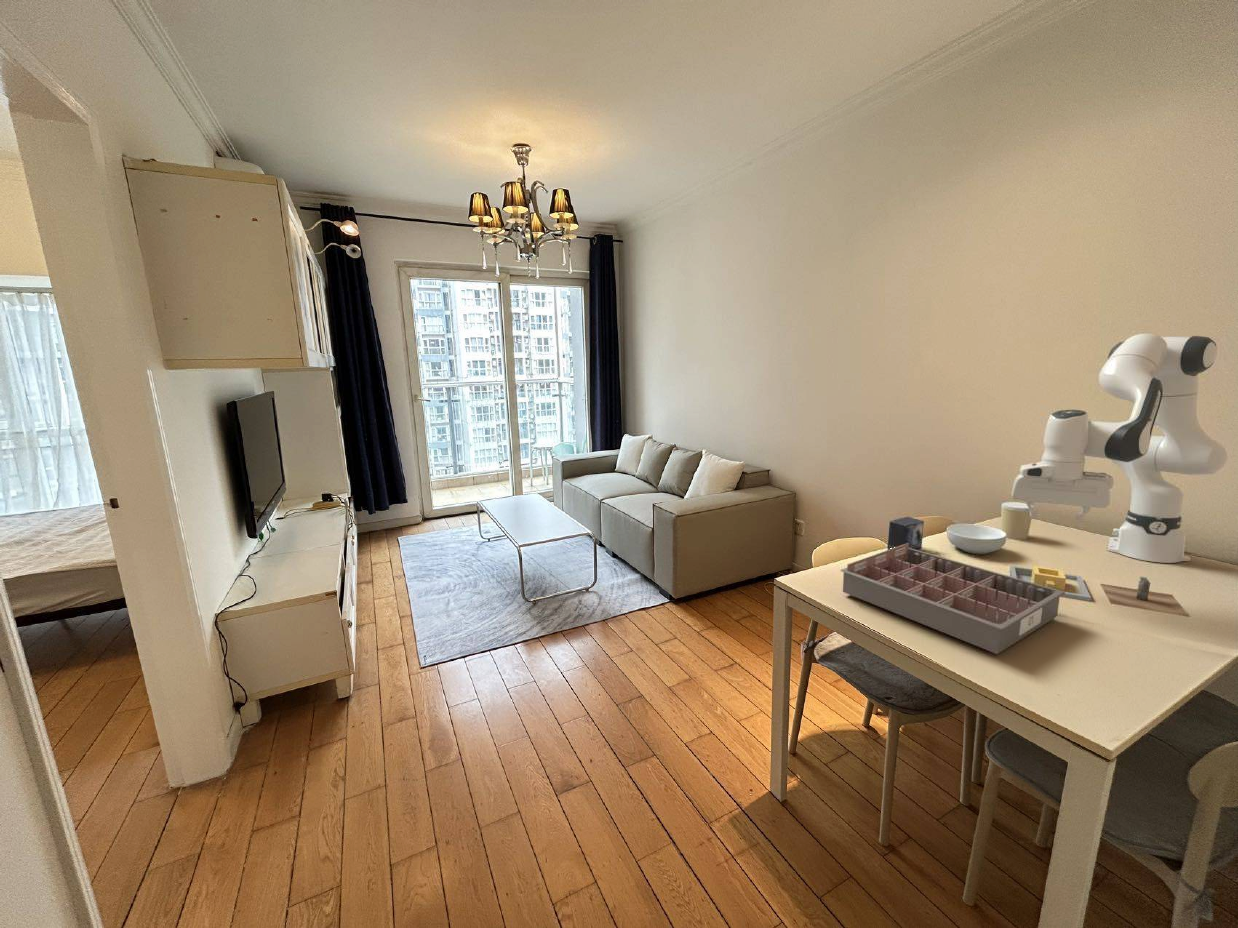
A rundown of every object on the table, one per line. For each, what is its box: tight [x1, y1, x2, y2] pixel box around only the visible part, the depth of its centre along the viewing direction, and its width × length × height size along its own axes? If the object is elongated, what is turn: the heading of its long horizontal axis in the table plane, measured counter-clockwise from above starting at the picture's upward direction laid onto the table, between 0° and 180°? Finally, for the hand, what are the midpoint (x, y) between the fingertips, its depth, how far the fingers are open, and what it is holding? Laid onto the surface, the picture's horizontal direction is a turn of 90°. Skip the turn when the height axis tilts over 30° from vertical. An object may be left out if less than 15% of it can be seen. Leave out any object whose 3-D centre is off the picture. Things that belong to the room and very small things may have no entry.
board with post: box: [1099, 576, 1191, 618], centre depth 130 cm, size 14×14×7 cm
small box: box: [886, 516, 925, 551], centre depth 175 cm, size 11×6×10 cm, turn 117°
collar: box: [1031, 565, 1067, 592], centre depth 140 cm, size 10×7×4 cm
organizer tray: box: [839, 543, 1066, 655], centre depth 133 cm, size 32×40×10 cm
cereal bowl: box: [946, 523, 1007, 555], centre depth 172 cm, size 17×17×7 cm
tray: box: [1009, 565, 1092, 602], centre depth 142 cm, size 16×16×2 cm
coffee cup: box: [1000, 501, 1035, 541], centre depth 183 cm, size 9×9×12 cm
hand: (1055, 519), depth 138 cm, fingers open, 8 cm apart
